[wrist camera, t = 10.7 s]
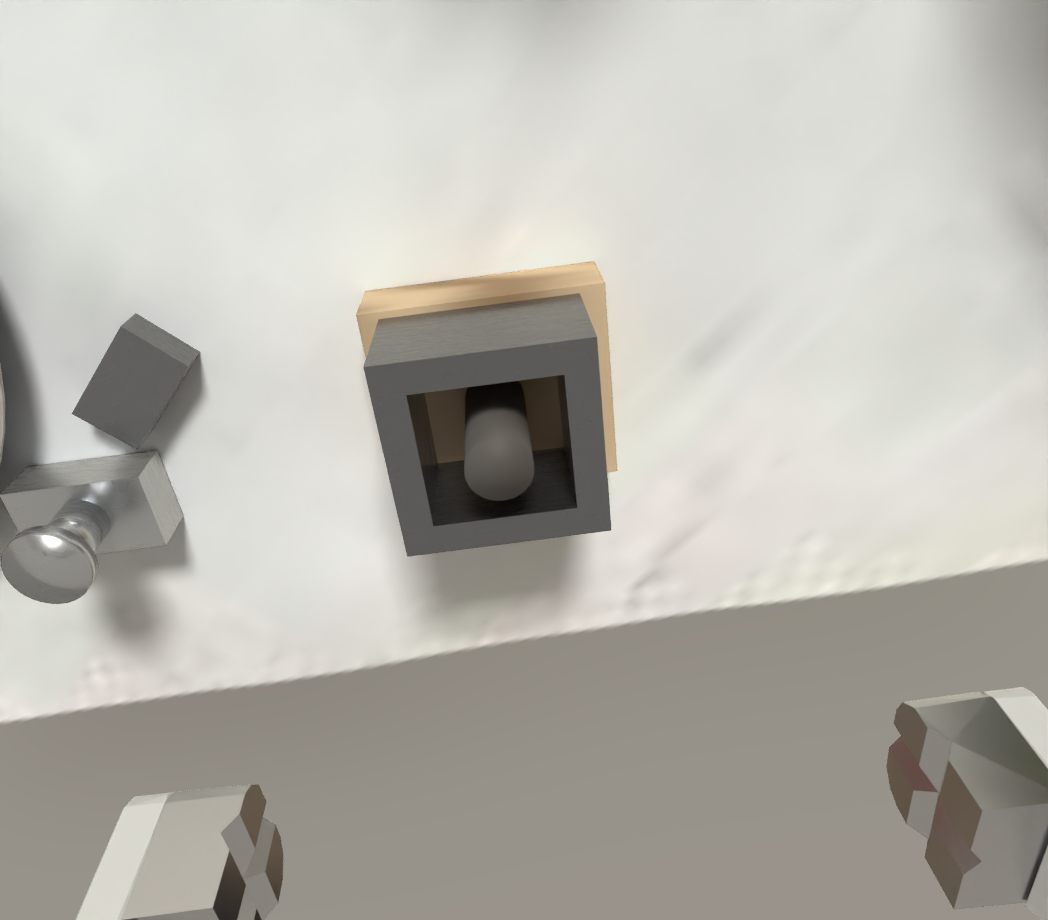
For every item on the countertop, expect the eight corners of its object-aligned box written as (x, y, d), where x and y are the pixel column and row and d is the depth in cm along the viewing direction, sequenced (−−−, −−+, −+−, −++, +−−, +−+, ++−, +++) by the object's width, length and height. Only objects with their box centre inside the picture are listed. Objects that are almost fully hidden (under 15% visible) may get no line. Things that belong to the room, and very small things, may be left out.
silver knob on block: (58, 532, 31) (-8, 614, 27) (26, 467, 30) (-50, 543, 26) (183, 516, 31) (136, 596, 27) (157, 450, 30) (103, 524, 26)
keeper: (403, 465, 31) (385, 585, 24) (365, 291, 27) (331, 376, 21) (606, 438, 31) (643, 552, 24) (594, 261, 27) (633, 337, 21)
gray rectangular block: (153, 429, 30) (137, 449, 28) (91, 394, 29) (71, 413, 28) (202, 349, 28) (188, 366, 27) (139, 310, 28) (120, 326, 26)
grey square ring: (415, 490, 28) (407, 556, 25) (378, 319, 25) (363, 366, 22) (594, 467, 28) (611, 530, 25) (579, 293, 25) (597, 336, 22)
